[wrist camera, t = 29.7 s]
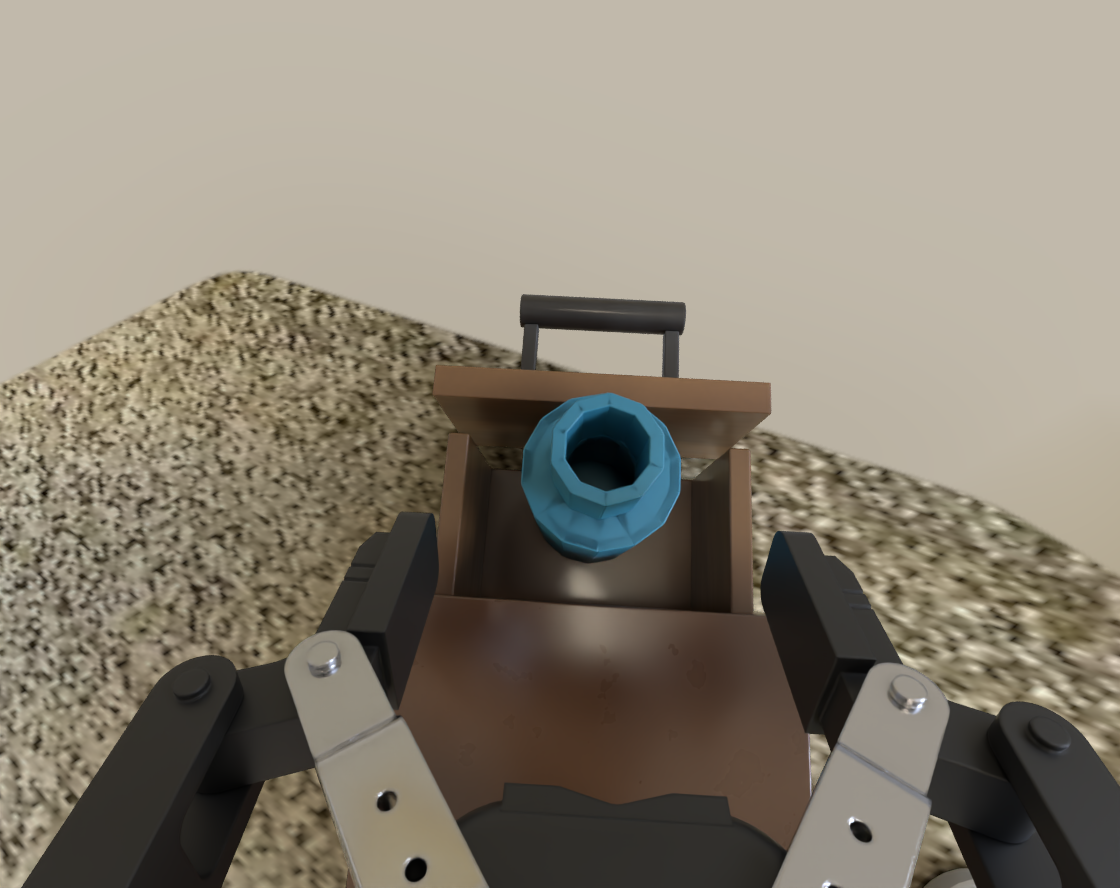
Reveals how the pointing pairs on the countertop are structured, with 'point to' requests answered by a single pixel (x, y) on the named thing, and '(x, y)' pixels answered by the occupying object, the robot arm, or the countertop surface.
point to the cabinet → (607, 706)
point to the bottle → (600, 476)
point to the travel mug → (953, 880)
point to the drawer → (504, 512)
